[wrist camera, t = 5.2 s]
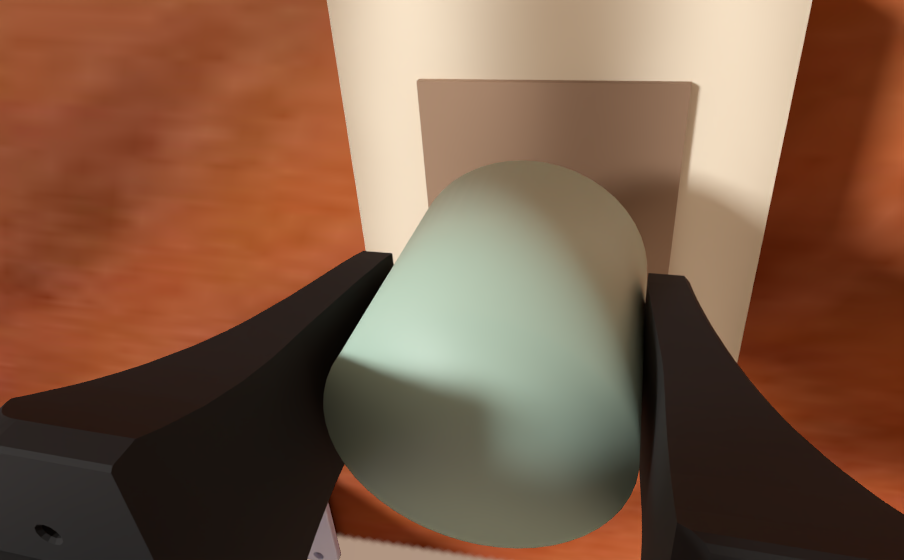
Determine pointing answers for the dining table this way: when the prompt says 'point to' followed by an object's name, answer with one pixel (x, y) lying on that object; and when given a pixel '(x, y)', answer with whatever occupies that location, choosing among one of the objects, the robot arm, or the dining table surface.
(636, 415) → the pale green rounded cylinder
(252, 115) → the dining table surface
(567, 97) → the birch base
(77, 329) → the dining table surface
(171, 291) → the dining table surface
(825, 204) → the dining table surface
